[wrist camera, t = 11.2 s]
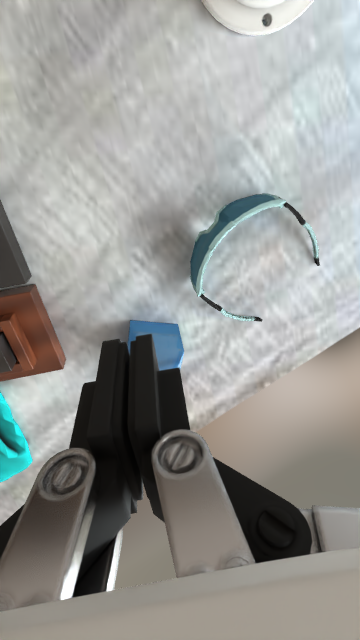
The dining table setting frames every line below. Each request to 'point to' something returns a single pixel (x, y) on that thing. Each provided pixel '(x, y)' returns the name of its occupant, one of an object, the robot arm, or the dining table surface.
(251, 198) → the sunglasses
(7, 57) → the dining table surface
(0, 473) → the cloth
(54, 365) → the brown stepped socket base
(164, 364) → the perfume bottle
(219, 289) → the dining table surface
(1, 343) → the ebony key
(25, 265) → the dark grey socket base
